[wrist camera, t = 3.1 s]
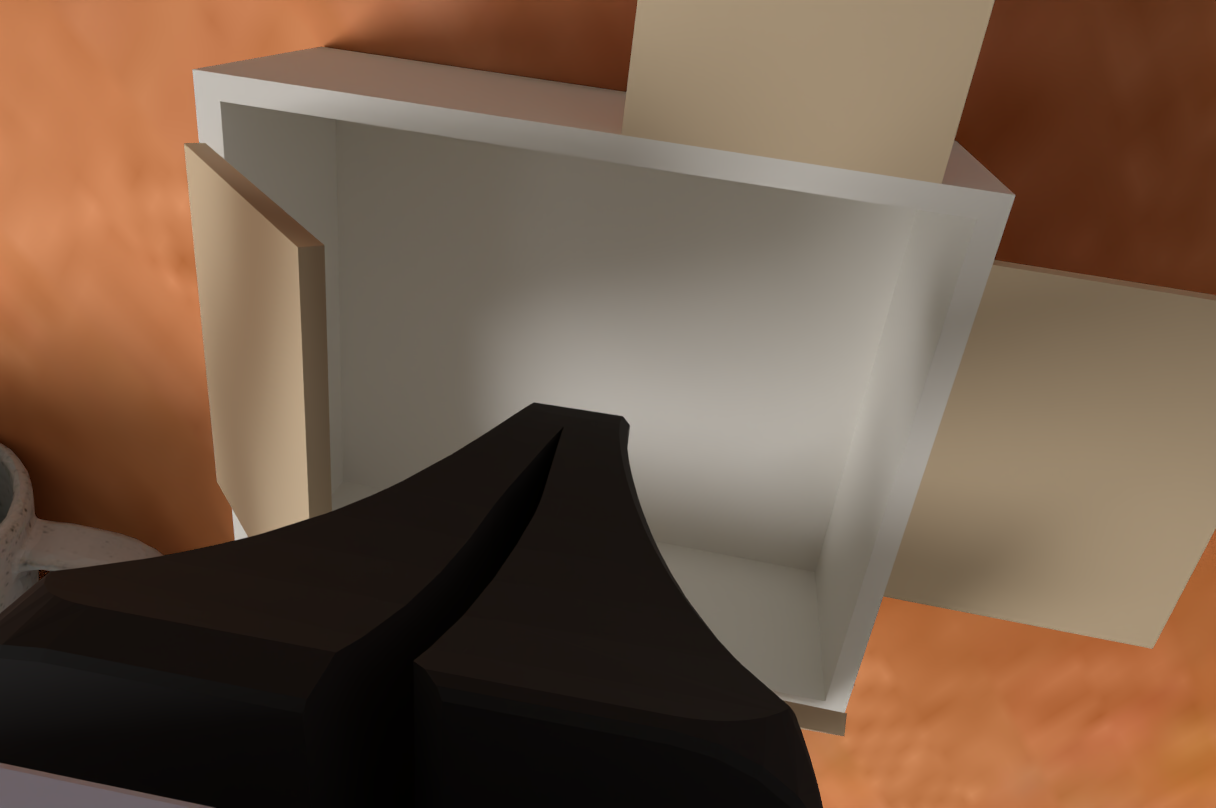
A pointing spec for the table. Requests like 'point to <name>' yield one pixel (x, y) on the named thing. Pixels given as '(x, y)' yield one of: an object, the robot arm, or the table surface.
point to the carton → (750, 319)
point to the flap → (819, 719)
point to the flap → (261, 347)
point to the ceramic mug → (47, 537)
